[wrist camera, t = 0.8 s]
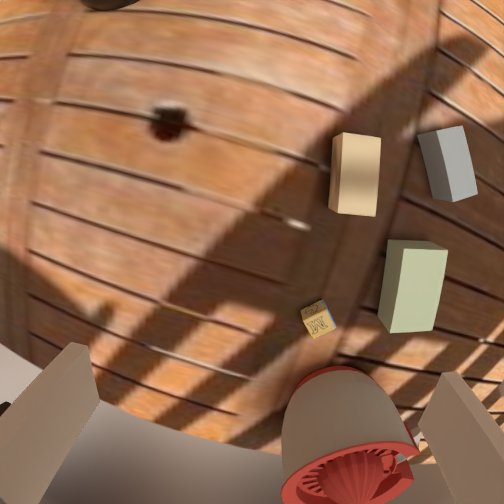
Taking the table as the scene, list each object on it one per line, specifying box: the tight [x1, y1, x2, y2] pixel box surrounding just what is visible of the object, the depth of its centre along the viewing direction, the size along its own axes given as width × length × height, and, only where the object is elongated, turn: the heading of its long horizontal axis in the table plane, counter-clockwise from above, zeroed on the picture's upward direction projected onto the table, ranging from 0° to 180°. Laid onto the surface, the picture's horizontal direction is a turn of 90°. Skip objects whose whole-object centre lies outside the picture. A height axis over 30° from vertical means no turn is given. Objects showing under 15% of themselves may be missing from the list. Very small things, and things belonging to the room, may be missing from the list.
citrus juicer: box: [281, 366, 422, 504], centre depth 31 cm, size 16×17×20 cm
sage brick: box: [377, 239, 448, 333], centre depth 34 cm, size 10×6×5 cm, turn 179°
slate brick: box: [417, 126, 478, 202], centre depth 31 cm, size 8×4×5 cm, turn 18°
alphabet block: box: [301, 299, 336, 339], centre depth 37 cm, size 3×3×3 cm
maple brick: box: [328, 133, 381, 216], centre depth 32 cm, size 8×4×5 cm, turn 177°
